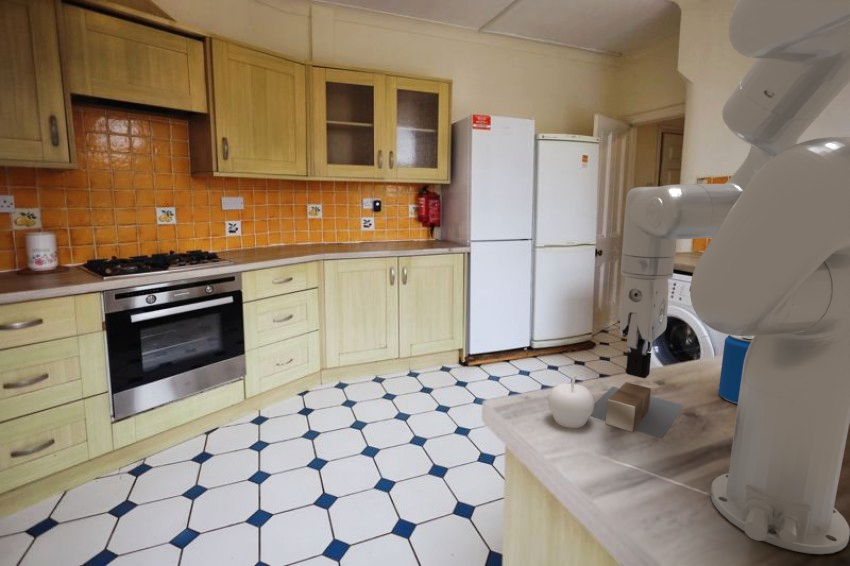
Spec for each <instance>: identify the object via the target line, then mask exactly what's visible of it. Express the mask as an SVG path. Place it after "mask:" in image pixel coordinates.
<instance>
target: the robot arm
mask: <svg viewBox="0 0 850 566" xmlns="http://www.w3.org/2000/svg"><path fill="white" fill-rule="evenodd" d="M728 24H729V26H728V36H729V41H730V44H731V46H732V47H733V49H734V50H735V51H736V52H737V53H738V54H740V55H742V56H745V57H747V58H753V59H755V60H754V62H753V64H752V65H751V66H750V68H749V69H748V71H747V72H746V73H745V75H744V76H743V78H742V79H741V80H740V82H739V83H738V85H737V87H736V88H735V89H734V91H732V93H731V95H730V96H728V99H727V100H726V101H725V103H724V105H723V108H722V113H721V115H722V119H723V123H725V125H726V126H727V128H728V130H729V131H731V133H732V134H734V136H736V137H737V138H739V139H741V140H742V141H743V142H745V143H746V144H748V145H750V150H749V152H748V154H747V156H746V158H745V159H744V161H743V163H742V164H741V165H740V166H739V167H738V169H737V170H736V171H735V172H734V173H733V175H731V177H730V178H729V179H728V180H727V181H726V182H725V183H691V184H688V183H687V184H680V183H679V184H667V185H663V186H640V187H639V186H638V187H633V188H632V189H630V190H629V191H628V192H627V194H626V198H625V209H624V210H625V211H624V222H623V224H624V225H623V235H622V236H623V238H622V250H621V251H622V253H621V265H620V274H621V276H624V277H625V279H624V285H623V292H622V299H621V306H620V314H619V315H620V317H619V318H620V319H619V333H620V335H621V337H622V338H626V337H627V339H626V348H627V358H626V370H625V373H626V375H629V376H633V377H636V378H642V379H646V378H647V377H648V376H649V375H650V370H651V359H652V353H651V352H652V347H653V341H655V340H656V339H658V337H659V336H661V335H662V334H663V333H664V332H665V331H666V329H667V324H668V307H669V279H672V278H673V277H674V265H675V255H676V249H677V248H676V247H677V240H693V239H694V240H695V239H710V241H709V243H708V244H707V246H706V247H705V249H704V250H703V252H702V253H701V256H700V257H699V259H698V261H697V263H696V265H695V267H694V270H693V273H692V275H691V276H692V277H691V280H690V288H689V290H690V291H689V292H690V294H689V295H690V302H691V305H692V308H693V311H694V312H695V315H696V316H697V317H698V319H699V320H700V321H701V322H703V324H704V325H706V326H707V327H709V328H710V329H712V330H714V331H716V332H718V333H721V334H725V335H728V336H729V335H735V336H754V337H753V339H752V341H751V343H750V345H749V347H748V350H747V353H746V356H745V359H744V364H743V370H742V376H741V384H740V391H739V399H738V404H737V408H736V414H735V416H736V417H735V423H734V430H733V437H732V446H731V452H730V460H729V468H728V473H724V474H720V475H719V476H717V477H715V478H714V479H713V481H712V483H711V486H710V493H709V495H710V498H711V499H710V500H711V501H712V503H713V505H714V507H715V508H716V509H717V510H718V512H720V514H721V515H722V516H723V517H724V518H726V519H727V520H728V521H729V522H730V523H731V524H733V525H734V526H736V527H737V528H739V529H740V530H741V531H743V532H744V533H745V535H746V536H748V537H749V538H751V539H752V540H755V541H760V542H761V541H763V542H766V543H768V544H771V545H773V546H776V547H779V548H780V549H781V548H783V549H785V550H788V551H793V552H798V553H803V554H814V555H825V554H834V553H836V552H840V551H842V550H843V549H844V548H846V547H847V545H848V543H849V541H850V526H849V523H848V522H847V521H846V518H845V517H844V516H843V515H842V514H841V513H840V511H838V510H837V508H836V507H835V502H836V498H837V497H836V496H837V491H838V485H839V480H840V477H841V476H840V475H841V471H842V464H843V459H844V454H845V448H846V443H847V437H848V433H849V427H850V136H834V137H833V136H828V137H821V138H814V139H809V140H805V141H802V142H799V143H798V140H799V139H800V137H802V135H803V134H804V133H805V132H806V130H807V129H808V128H809V127H810V126H811V125H812V124H813V123H814V122H815V121H816V119H817V118H819V116H820V115H821V114H822V113H823V111H824V110H826V108H827V107H828V106H829V105H830V104H831V102H832V101H834V100H835V98H837V96H838V95H839V93H841V92H842V91H843V90H844V89H845V87H846V86H847V85H848V84H849V83H850V0H737V1H736V2H735V5H734V8H733V9H732V12H731V16H730V19H729V23H728Z"/></svg>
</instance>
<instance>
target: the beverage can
mask: <svg viewBox="0 0 850 566" xmlns="http://www.w3.org/2000/svg"><path fill="white" fill-rule="evenodd" d="M753 337H754V336H735V335H729V334H728V336H727V337H725V339H724V345H723V352H722V361H721V370H720V376H719V384H718V391H717V393H718V395H719V396H720V397H721V398H723V399H724V400H726V401H728V402H730V403H732V404H736V405H738V399H739V391H740V384H741V376H742V370H743V364H744V359H745V356H746V353H747V350H748V347H749V345H750V343H751V341H752V339H753Z"/></svg>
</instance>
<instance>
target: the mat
mask: <svg viewBox="0 0 850 566" xmlns="http://www.w3.org/2000/svg"><path fill="white" fill-rule="evenodd" d="M619 388H620V387H615V386H611V387H610V389H608V390H607V391H606V392H605V393H604V394H603V395H601V397H600V398H599V399H597V401H595V402H594V409H593V412H592V414H591V415H590V417H592V418H596V419H598V420H601V421H605V422H606V413H607V400H608V399H609V398H610V397H611V396H612V395H613V394H614V393H615V392H616V391H617V390H618V389H619ZM684 405H685V404H682V403H677V402H674V401H670V400H666V399H662V398H658V397H655V396H651V395H650V404H649V411H648V412H647V414H646V415H645V416H644V418H643V419H642V420H641V421H640V423H639V424H638V425H637V426H636V428H635V429H634V430H633V431H638V432H639V433H644V434H647V435H649V436H653V437H657V438H660V439H663V438H664V436H665V435H666V433H667V432H668V430H669V429H670V428H671V425H672V424H673V422H674V421H675V420H676V418H677V417H678V415H679V413H680V412H681V411H682V409H683V407H684Z"/></svg>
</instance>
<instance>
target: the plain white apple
mask: <svg viewBox="0 0 850 566" xmlns="http://www.w3.org/2000/svg"><path fill="white" fill-rule="evenodd" d="M577 378H578V376H577V375H573V376H572V380H571V382H570V383H567V382H566V383H565V382H561V383H559V384H557V385H556V386H554V387H553V388H551V390H550V392H549V394H548V396H547V403H548V407H549V410H550V412H551V414H552V416H553V419H554V420H555V423H557V424H558V425H560V426H562V427H564V428H569V429H579V428H582V427H584V426H585V424H586V423H587V421H588V420H589V419H590V417H591V416H590V415H591V414H592V412H593V409H594V403H595V399H594V396H593V394H592V393H591V392H590V390H589V389H588V388H587V387H585V386H584V385H580V384H577V383H576V379H577Z"/></svg>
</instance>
